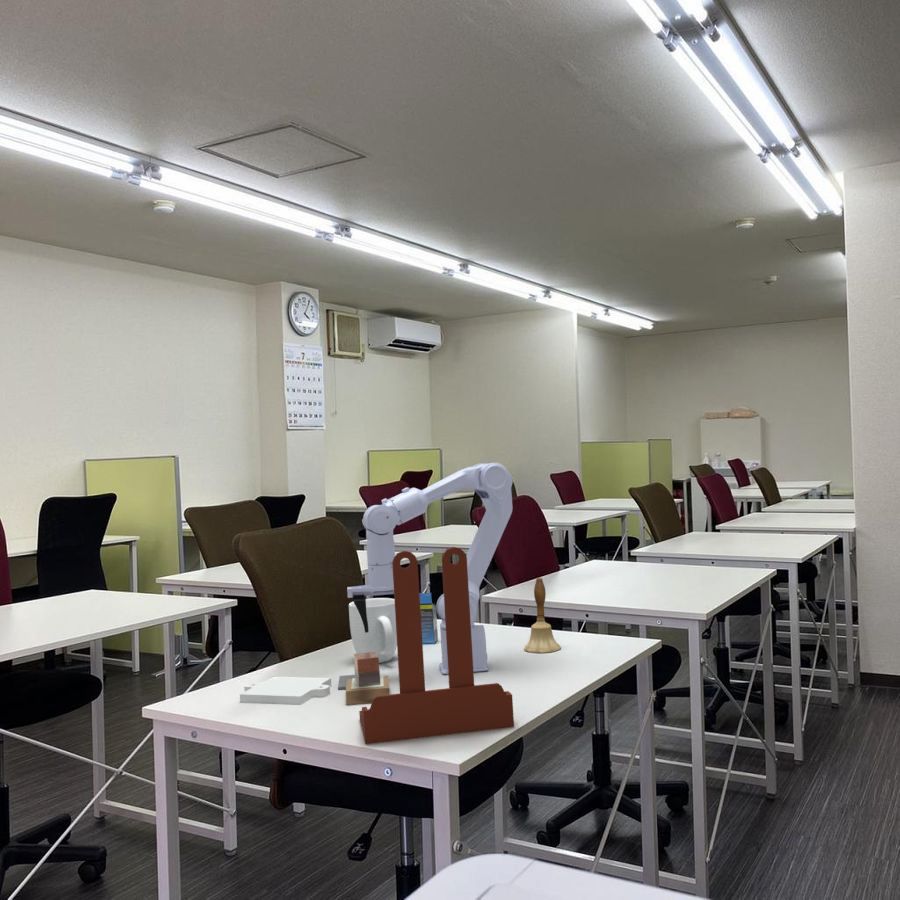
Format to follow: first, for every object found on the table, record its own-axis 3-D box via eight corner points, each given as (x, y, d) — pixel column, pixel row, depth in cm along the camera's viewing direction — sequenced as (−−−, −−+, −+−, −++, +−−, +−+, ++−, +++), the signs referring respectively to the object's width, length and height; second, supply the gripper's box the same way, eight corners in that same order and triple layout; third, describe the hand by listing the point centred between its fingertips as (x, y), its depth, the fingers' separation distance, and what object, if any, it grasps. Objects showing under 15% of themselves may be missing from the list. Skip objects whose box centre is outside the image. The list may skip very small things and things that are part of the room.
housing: (375, 676, 164) (374, 651, 164) (380, 684, 159) (378, 657, 159) (355, 679, 163) (353, 653, 164) (359, 687, 158) (357, 660, 158)
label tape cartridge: (438, 640, 207) (435, 590, 207) (434, 644, 203) (431, 592, 203) (403, 640, 209) (400, 590, 209) (399, 644, 205) (396, 593, 205)
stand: (389, 688, 166) (388, 674, 166) (389, 701, 157) (389, 686, 157) (347, 691, 165) (347, 677, 165) (346, 705, 156) (345, 690, 156)
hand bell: (537, 643, 197) (533, 575, 197) (568, 647, 192) (563, 576, 192) (516, 651, 191) (512, 580, 191) (547, 655, 185) (542, 582, 185)
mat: (378, 675, 176) (378, 672, 176) (378, 686, 167) (378, 684, 167) (339, 678, 176) (339, 675, 176) (338, 689, 167) (337, 687, 167)
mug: (415, 664, 184) (412, 604, 184) (368, 672, 179) (364, 611, 179) (389, 652, 197) (386, 596, 197) (345, 659, 192) (341, 602, 192)
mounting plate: (342, 687, 170) (342, 678, 170) (313, 707, 157) (312, 696, 157) (263, 685, 175) (263, 676, 175) (228, 703, 163) (228, 693, 163)
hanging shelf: (495, 705, 151) (485, 537, 151) (514, 728, 138) (503, 543, 138) (359, 720, 147) (349, 547, 147) (365, 745, 134) (354, 555, 134)
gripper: (416, 559, 178) (419, 623, 178) (346, 563, 177) (350, 629, 177) (417, 562, 171) (421, 630, 171) (345, 568, 170) (349, 635, 170)
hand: (385, 630), depth 173 cm, fingers open, 7 cm apart
